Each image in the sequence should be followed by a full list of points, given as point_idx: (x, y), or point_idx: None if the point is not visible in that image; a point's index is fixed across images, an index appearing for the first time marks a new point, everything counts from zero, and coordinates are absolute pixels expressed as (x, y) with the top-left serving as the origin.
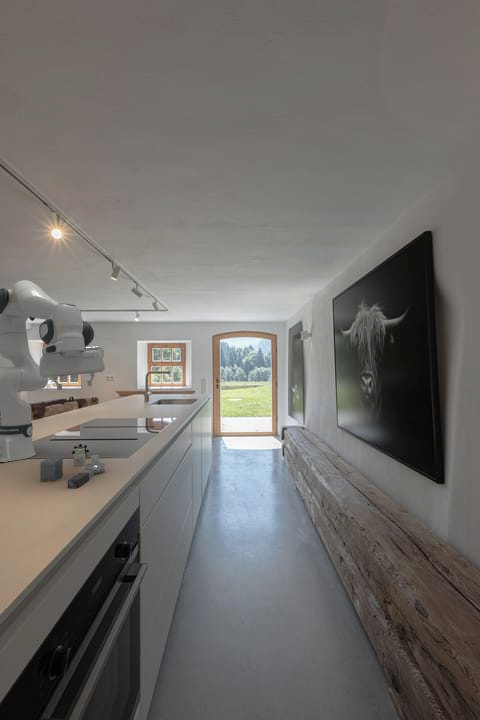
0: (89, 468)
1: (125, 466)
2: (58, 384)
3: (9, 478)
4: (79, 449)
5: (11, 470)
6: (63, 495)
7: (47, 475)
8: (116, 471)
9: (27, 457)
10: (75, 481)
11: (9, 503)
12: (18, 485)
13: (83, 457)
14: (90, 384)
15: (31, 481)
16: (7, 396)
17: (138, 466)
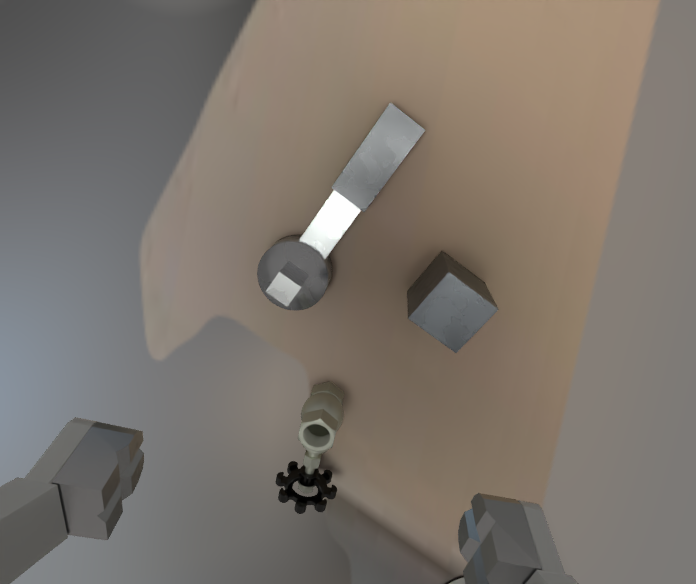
0: (318, 253)
1: (187, 274)
2: (537, 563)
3: (561, 385)
4: (320, 421)
5: (534, 473)
6: (455, 46)
7: (466, 273)
8: (228, 231)
9: (462, 580)
10: (399, 110)
11: (631, 78)
12: (556, 281)
13: (312, 398)
14: (93, 427)
15: (509, 301)
16: None
17: (144, 243)
